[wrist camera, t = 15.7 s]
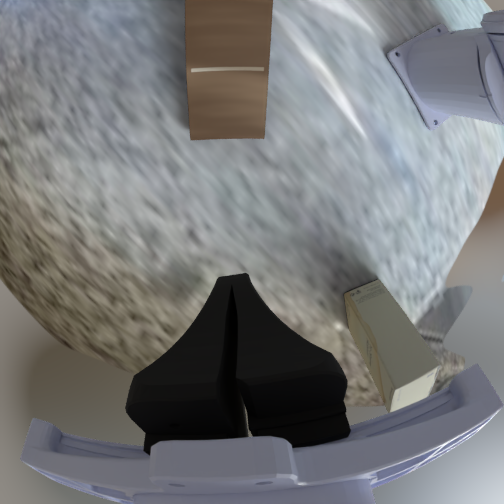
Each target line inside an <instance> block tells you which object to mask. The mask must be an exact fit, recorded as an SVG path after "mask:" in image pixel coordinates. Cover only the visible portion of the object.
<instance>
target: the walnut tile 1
mask: <svg viewBox="0 0 504 504" xmlns="http://www.w3.org/2000/svg"><path fill="white" fill-rule="evenodd" d="M272 8H273V0H185V44H186V74H187V95H188V111H189V126H190V139H191V140H205V139H243V138H254V139H264V136H265V121H266V105H267V90H268V74H269V58H270V41H271V25H272Z"/></svg>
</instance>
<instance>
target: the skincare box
mask: <svg viewBox="0 0 504 504" xmlns="http://www.w3.org/2000/svg"><path fill="white" fill-rule="evenodd" d="M344 298H345V306H346V313H347V319H348V326H349V331H350V333H351V335H352V337H353V339H354V341H355V343H356V345H357V347H358V349H359V351H360V353H361V355H362V357H363V359H364V361H365V364H366V366H367V368H368V370H369V372H370V374H371V376H372V378H373V380H374V383H375V385H376V387H377V389H378V391H379V393H380V396H381V398H382V400H383V402H384V404H385V407H386V409H387V411H388V413H390V412H393V411H395V410H398V409H401V408H403V407H406V406H408V405H410V404H413V403H415V402H417V401H420V400H422V399H424V398H426V397H428V396H429V394H430V391H431V389H432V387H433V385H434V382H435V379H436V376H437V374H438V371H439V368H440V364H439V362H438V361H437V359H436V357H435V356H434V354H433V353H432V351H431V350H430V348H429V347H428V345H427V344H426V342H425V341H424V339H423V338H422V337H421V335H420V334H419V332H418V331H417V329H416V328H415V326H414V325H413V324H412V322H411V321H410V320H409V318H408V317H407V315H406V314H405V312H404V311H403V310H402V308H401V307H400V306H399V304H398V303H397V302H396V300H395V299H394V298H393V296H392V295H391V294H390V292H389V291H388V290H387V288H386V287H385V286H384V285H383V283H382V282H381V281H380V280H379V279H378V280H376V281H373V282H371V283H368V284H366V285H363V286H361V287H359V288H356V289H354V290H351V291H349V292H347V293H345V294H344Z"/></svg>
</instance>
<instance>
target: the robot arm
mask: <svg viewBox="0 0 504 504" xmlns="http://www.w3.org/2000/svg"><path fill="white" fill-rule="evenodd" d="M480 24H481V26H482V27H483V28H473V29H465V30H458V31H452V32H449V31H448V29H447V27H446V26H445V25H444V24H439V25H437V26H435V27H433V28H431V29H429V30H427V31H425V32H423V33H421V34H419V35H417V36H416V37H414V38H412V39H410V40H408V41H407V42H405V43H403V44H401V45H400V46H398V47H396V48H394V49H393V50H391V51H389V52H388V53H387V57H388V59H389V61H390V62H391V64H392V65H393V67H394V68H395V70H396V71H397V73H398V75H399V76H400V78H401V79H402V81H403V83H404V84H405V86H406V88H407V89H408V91H409V93H410V95H411V96H412V98H413V100H414V102H415V104H416V106H417V108H418V109H419V111H420V113H421V115H422V117H423V119H424V121H425V123H426V125H427V127H428V129H430V130H435V129H436V128H437V127H438V126H440V125H441V124H442V123H443V122H444V121H445V120H447V119H448V118H449V117H450V116H451V115H457V116H463V117H468V118H473V119H478V120H482V121H487V122H491V123H495V124H499V125H503V126H504V10H499V11H494V12H489V13H486V14H484V15H483V18H482V21H481V23H480ZM438 31H439V32H438ZM395 52H396V53H397V55H398V57H397V56H396V55H395ZM434 120H435V124H434ZM346 390H347V379H346V376H345V374H344V372H343V370H342V368H341V366H340V365H339V363H338V362H337V360H336V359H335V357H334V356H333V355H332V353H330V352H328V351H326V350H324V349H322V348H320V347H318V346H316V345H314V344H312V343H310V342H309V341H307V340H306V339H304V338H303V337H301V336H300V335H298V334H297V333H296V332H294V331H293V330H292V329H290V328H289V327H288V326H287V325H286V324H284V323H283V322H282V321H281V320H280V319H279V318H278V317H277V316H276V315H275V314H274V313H273V312H272V311H271V310H270V309H269V307H268V306H267V305H266V304H265V303H264V301H263V300H262V299H261V297H260V296H259V294H258V293H257V291H256V290H255V288H254V286H253V285H252V283H251V280H250V278H249V275H248V274H247V273H243V274H236V275H229V276H223V277H219V278H218V279H217V281H216V283H215V285H214V288H213V290H212V292H211V294H210V296H209V297H208V299H207V301H206V303H205V305H204V306H203V308H202V310H201V311H200V313H199V314H198V316H197V317H196V319H195V320H194V322H193V323H192V324H191V326H190V327H189V328H188V330H187V331H186V332H185V333H184V335H183V336H182V337H181V338H180V339H179V340H178V341H177V342H176V343H175V344H174V345H173V346H172V347H171V348H170V349H169V350H168V351H167V352H166V353H164V354H163V355H162V356H161V357H160V358H158V359H157V360H156V361H155V362H153V363H152V364H151V365H149V366H148V367H146V368H145V369H143V370H142V371H140V372H139V373H137V374H136V375H134V378H133V380H132V383H131V386H130V390H129V394H128V398H127V403H126V407H125V409H126V413H127V414H128V415H129V417H130V418H131V419H132V420H133V421H134V422H135V423H136V424H137V425H138V426H139V427H140V428H141V429H142V430H143V431H144V432H145V433H146V434H145V441H144V446H137V445H127V444H120V443H113V442H106V441H100V440H95V439H89V438H84V437H80V436H75V435H71V434H67V433H63V432H61V430H59V429H58V428H57V427H56V426H54V425H53V424H51V423H49V422H47V421H43V420H40V419H36V418H33V419H32V422H31V425H30V428H29V431H28V434H27V437H26V441H25V444H24V447H23V451H22V454H21V458H20V459H21V461H22V462H24V463H25V464H27V465H28V466H30V467H31V468H33V469H35V470H36V471H38V472H40V473H41V474H43V475H45V476H47V477H48V478H50V479H52V480H54V481H56V482H58V483H61V484H63V485H66V486H69V487H71V488H74V489H77V490H80V491H82V492H86V493H88V494H91V495H94V496H98V497H101V498H104V499H108V500H111V501H115V502H119V503H122V504H376V502H375V499H374V495H373V492H372V488H375V487H378V486H380V485H382V484H385V483H388V482H390V481H392V480H394V479H397V478H399V477H401V476H403V475H405V474H407V473H409V472H411V471H413V470H415V469H417V468H419V467H421V466H423V465H425V464H427V463H429V462H430V461H432V460H434V459H436V458H438V457H439V456H441V455H443V454H444V453H446V452H448V451H449V450H451V449H453V448H454V447H456V446H457V445H459V444H461V443H462V442H464V441H465V440H467V439H468V438H470V437H471V436H473V435H474V434H475V433H476V432H478V430H480V429H481V428H482V427H483V426H484V425H485V424H486V423H487V422H488V421H489V420H490V419H491V418H493V416H494V415H495V414H496V413H497V412H498V411H499V410H500V409H501V408H502V407H503V403H502V401H501V399H500V398H499V396H498V395H497V393H496V391H495V390H494V388H493V386H492V385H491V383H490V381H489V380H488V378H487V377H486V375H485V374H484V372H483V371H482V369H481V368H480V366H479V365H478V364H474V365H473V366H471V367H469V368H467V369H466V370H464V371H462V372H460V373H459V374H457V375H456V376H455V377H454V378H453V379H452V381H451V382H450V384H449V387H447V388H445V389H443V390H441V391H439V392H437V393H435V394H433V395H431V396H428V397H426V398H424V399H422V400H420V401H417V402H415V403H413V404H410V405H408V406H406V407H403V408H401V409H398V410H395V411H393V412H390V413H388V414H385V415H382V416H379V417H376V418H373V419H370V420H367V421H364V422H361V423H358V424H354V425H351V426H349V423H348V420H347V417H346V414H345V413H346V407H345V404H344V397H345V393H346ZM244 404H245V405H244ZM245 407H246V410H247V415H248V426H249V430H250V431H251V434H252V436H253V437H248V429H247V422H246V414H245Z"/></svg>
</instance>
